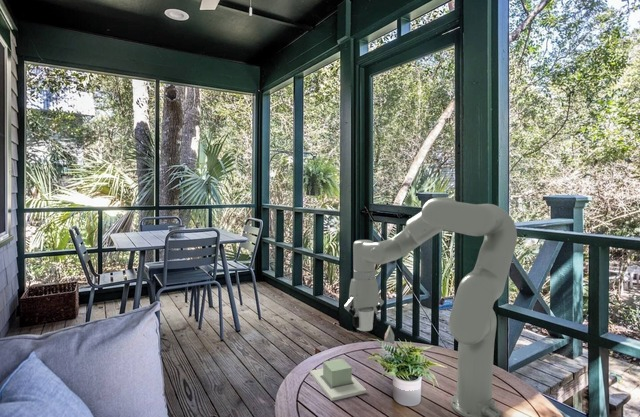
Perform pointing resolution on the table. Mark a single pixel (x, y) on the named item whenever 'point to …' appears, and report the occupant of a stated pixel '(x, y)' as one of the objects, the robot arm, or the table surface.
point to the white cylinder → (366, 319)
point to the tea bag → (389, 335)
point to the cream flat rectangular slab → (337, 387)
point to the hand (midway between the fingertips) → (364, 325)
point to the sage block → (337, 372)
